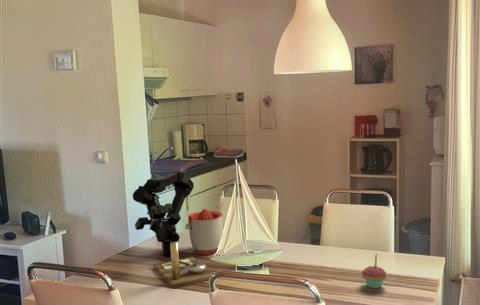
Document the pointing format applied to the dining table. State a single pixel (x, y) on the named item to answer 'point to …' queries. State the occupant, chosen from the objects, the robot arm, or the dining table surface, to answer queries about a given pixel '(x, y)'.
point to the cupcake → (374, 275)
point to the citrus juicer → (205, 231)
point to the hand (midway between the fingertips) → (163, 239)
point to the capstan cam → (192, 268)
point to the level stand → (184, 279)
